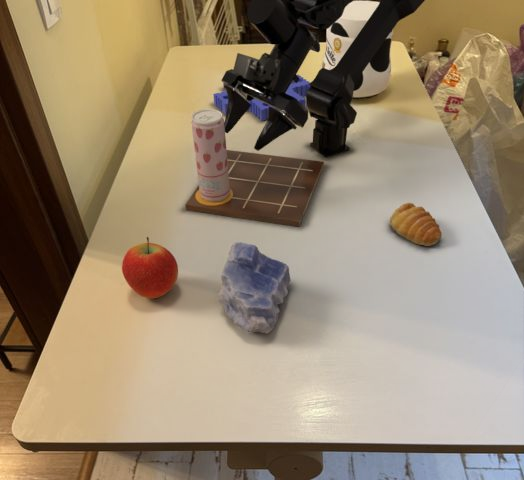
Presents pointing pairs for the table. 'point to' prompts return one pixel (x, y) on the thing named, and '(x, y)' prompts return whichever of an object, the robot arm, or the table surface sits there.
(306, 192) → the board
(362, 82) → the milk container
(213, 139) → the beverage can
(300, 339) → the table surface
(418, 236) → the pastry
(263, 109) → the building block
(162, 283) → the apple
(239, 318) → the mineral
